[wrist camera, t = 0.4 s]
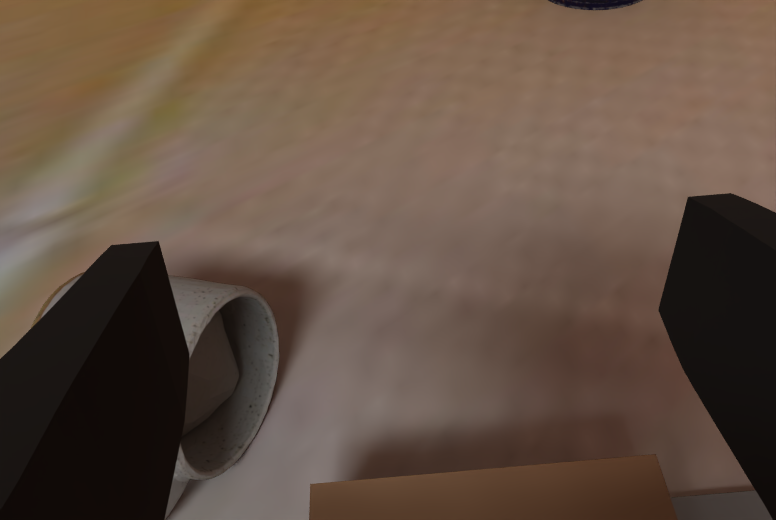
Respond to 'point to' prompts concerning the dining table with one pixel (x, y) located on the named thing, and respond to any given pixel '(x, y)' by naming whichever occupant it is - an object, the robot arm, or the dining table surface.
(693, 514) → the mat
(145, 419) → the robot arm
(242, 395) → the grey cylinder
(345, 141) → the dining table surface
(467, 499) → the deck
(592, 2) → the storage jar
